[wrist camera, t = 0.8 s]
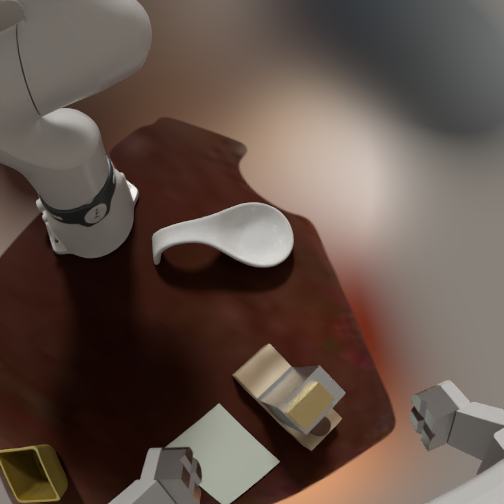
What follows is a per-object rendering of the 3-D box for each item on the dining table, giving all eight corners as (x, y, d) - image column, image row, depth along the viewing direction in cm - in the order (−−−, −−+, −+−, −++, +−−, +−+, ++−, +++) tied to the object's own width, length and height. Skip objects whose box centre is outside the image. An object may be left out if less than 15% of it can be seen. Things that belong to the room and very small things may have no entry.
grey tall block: (259, 400, 42) (280, 408, 31) (293, 367, 44) (323, 365, 34) (282, 423, 41) (309, 436, 31) (315, 390, 44) (350, 393, 33)
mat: (162, 449, 40) (161, 450, 40) (219, 403, 45) (219, 403, 44) (224, 505, 38) (225, 506, 37) (279, 460, 43) (280, 461, 42)
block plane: (231, 375, 47) (236, 375, 42) (263, 345, 49) (272, 342, 44) (302, 445, 44) (315, 452, 39) (331, 416, 47) (346, 419, 42)
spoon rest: (279, 209, 59) (290, 189, 53) (295, 269, 55) (309, 254, 49) (150, 223, 54) (146, 202, 47) (157, 288, 50) (152, 275, 43)
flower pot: (20, 442, 34) (-6, 450, 26) (58, 436, 37) (35, 445, 29) (40, 487, 32) (18, 502, 24) (79, 483, 35) (61, 500, 26)
